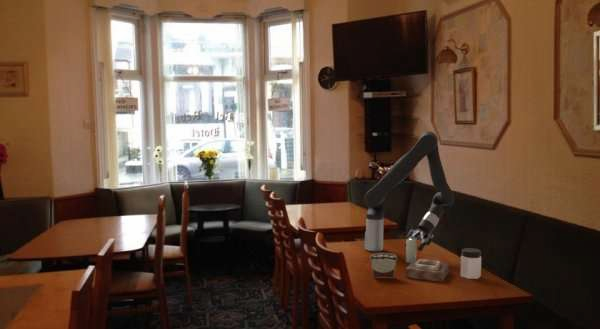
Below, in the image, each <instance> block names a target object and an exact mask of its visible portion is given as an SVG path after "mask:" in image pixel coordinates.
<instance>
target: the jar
mask: <svg viewBox="0 0 600 329" xmlns="http://www.w3.org/2000/svg"><path fill="white" fill-rule="evenodd" d="M481 255H482V251H481V250H480V249H479V248H472V247H465V248H462V249H461V256H460V277H463V278H465V279H469V280H470V279H471V280H478V279H480V277H481V276H482V256H481Z"/></svg>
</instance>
